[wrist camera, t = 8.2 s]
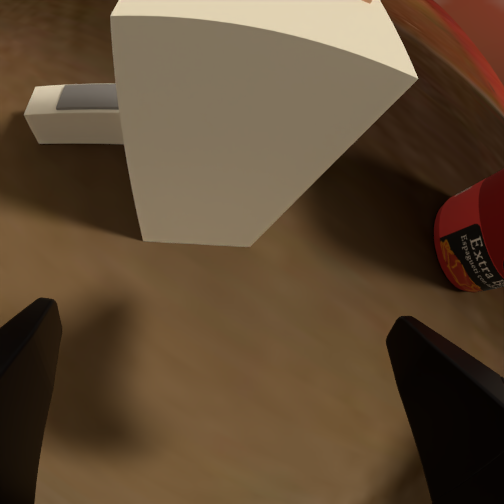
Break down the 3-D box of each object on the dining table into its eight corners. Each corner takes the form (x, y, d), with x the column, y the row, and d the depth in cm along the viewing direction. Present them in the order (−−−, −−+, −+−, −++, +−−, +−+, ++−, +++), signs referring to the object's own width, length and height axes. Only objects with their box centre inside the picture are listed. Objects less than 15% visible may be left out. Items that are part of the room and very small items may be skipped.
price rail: (329, 166, 20) (355, 141, 17) (38, 143, 15) (22, 113, 12) (326, 140, 20) (349, 113, 17) (47, 117, 16) (34, 84, 13)
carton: (249, 247, 17) (422, 74, 5) (143, 241, 16) (109, 9, 3) (249, 168, 18) (365, -30, 6) (151, 160, 17) (165, -74, 5)
